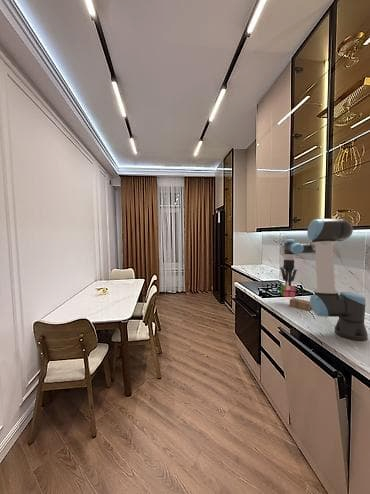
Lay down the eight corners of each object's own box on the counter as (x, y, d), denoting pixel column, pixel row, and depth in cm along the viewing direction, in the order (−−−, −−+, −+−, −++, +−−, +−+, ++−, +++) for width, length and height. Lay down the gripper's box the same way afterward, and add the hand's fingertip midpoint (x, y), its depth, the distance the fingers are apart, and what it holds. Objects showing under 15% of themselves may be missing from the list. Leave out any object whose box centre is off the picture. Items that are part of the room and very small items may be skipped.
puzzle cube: (295, 297, 206) (295, 285, 205) (282, 296, 207) (283, 285, 207) (292, 294, 215) (292, 283, 214) (280, 293, 217) (280, 282, 216)
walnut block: (289, 306, 182) (309, 311, 172) (289, 299, 182) (309, 304, 171) (293, 304, 187) (313, 308, 176) (293, 297, 187) (313, 302, 176)
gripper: (299, 259, 182) (298, 290, 184) (283, 258, 192) (282, 287, 194) (295, 260, 177) (294, 292, 179) (278, 258, 187) (277, 288, 189)
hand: (288, 289), depth 186 cm, fingers closed
